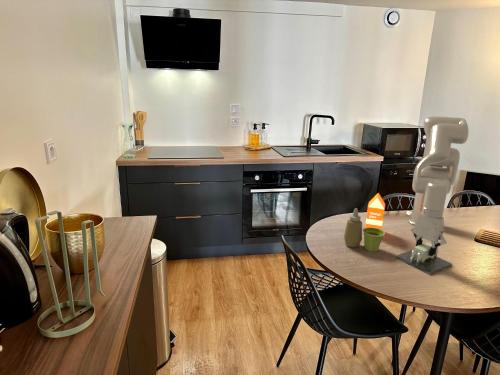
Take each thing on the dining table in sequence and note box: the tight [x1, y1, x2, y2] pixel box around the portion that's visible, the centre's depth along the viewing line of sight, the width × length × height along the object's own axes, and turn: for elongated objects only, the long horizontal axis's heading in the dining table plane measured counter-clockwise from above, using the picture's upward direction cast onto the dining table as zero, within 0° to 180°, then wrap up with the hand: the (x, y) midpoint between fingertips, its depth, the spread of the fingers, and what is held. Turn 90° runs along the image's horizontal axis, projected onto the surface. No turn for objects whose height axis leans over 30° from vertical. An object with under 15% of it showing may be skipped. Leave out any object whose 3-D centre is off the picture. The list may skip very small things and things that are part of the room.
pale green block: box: [413, 241, 437, 260], centre depth 146 cm, size 4×9×4 cm, turn 121°
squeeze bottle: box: [343, 207, 363, 248], centre depth 158 cm, size 8×8×18 cm
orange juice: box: [364, 192, 386, 230], centre depth 172 cm, size 8×9×20 cm
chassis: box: [395, 246, 453, 276], centre depth 146 cm, size 16×15×6 cm
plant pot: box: [362, 227, 386, 252], centre depth 156 cm, size 9×9×9 cm
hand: (425, 251), depth 146 cm, fingers open, 5 cm apart
